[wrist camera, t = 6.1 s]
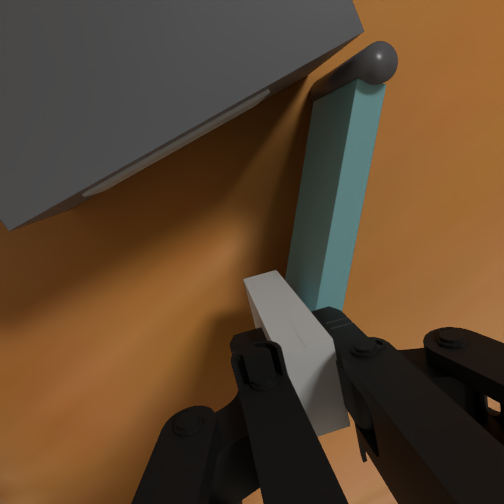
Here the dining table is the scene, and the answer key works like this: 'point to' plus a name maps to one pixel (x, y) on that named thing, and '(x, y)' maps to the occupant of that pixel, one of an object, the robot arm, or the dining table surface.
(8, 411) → the dining table surface
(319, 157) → the side door
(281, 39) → the block
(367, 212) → the dining table surface
